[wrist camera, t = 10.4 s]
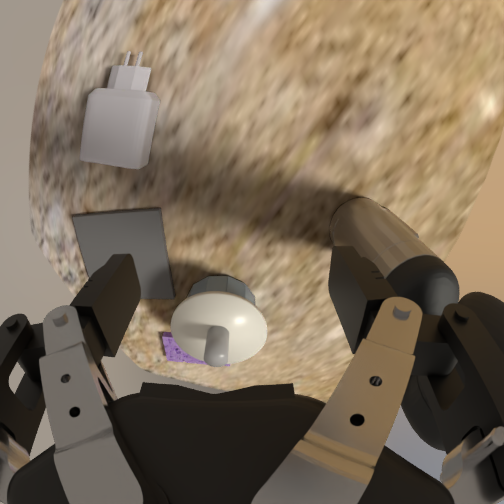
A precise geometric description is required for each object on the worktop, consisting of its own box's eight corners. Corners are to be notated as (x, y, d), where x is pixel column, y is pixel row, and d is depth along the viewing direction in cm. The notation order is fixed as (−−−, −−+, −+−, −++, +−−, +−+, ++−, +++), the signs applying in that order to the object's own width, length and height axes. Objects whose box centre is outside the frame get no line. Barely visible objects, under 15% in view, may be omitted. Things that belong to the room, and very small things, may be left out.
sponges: (164, 329, 50) (161, 336, 48) (231, 335, 50) (231, 342, 49) (168, 354, 53) (166, 361, 51) (230, 359, 54) (230, 366, 52)
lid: (267, 289, 37) (270, 318, 32) (266, 359, 44) (268, 388, 39) (163, 291, 37) (152, 319, 32) (180, 359, 44) (175, 387, 38)
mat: (160, 208, 38) (158, 210, 37) (175, 295, 45) (174, 299, 44) (75, 215, 38) (72, 217, 37) (98, 293, 45) (95, 297, 44)
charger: (173, 57, 29) (149, 163, 36) (112, 53, 28) (93, 154, 34) (163, 50, 25) (137, 170, 31) (96, 48, 23) (76, 160, 30)
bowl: (254, 273, 44) (255, 299, 38) (255, 326, 49) (256, 354, 43) (183, 274, 44) (175, 299, 38) (192, 327, 49) (187, 353, 43)
